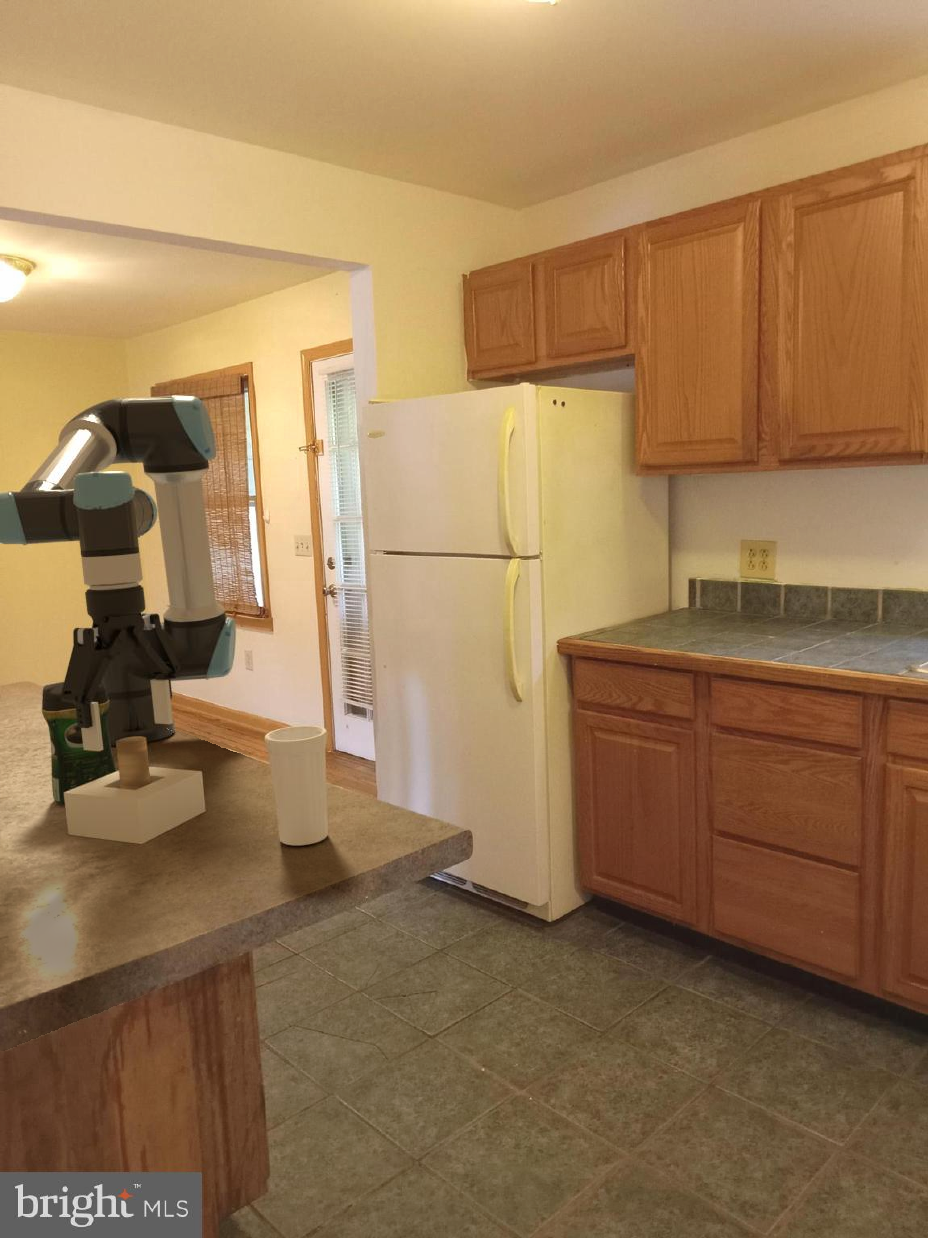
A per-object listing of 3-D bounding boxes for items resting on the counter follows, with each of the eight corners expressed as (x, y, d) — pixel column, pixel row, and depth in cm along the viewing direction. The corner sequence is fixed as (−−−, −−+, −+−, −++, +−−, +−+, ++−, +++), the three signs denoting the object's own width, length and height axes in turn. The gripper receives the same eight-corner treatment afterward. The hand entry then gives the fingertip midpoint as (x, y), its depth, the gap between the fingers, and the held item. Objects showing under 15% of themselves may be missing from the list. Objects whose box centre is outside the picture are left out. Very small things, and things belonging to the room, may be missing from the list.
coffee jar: (114, 784, 147) (102, 672, 145) (123, 797, 140) (111, 679, 138) (49, 797, 142) (36, 681, 140) (56, 810, 136) (41, 689, 133)
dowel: (138, 816, 131) (130, 735, 130) (160, 818, 129) (152, 737, 128) (118, 826, 127) (109, 743, 126) (140, 828, 126) (131, 744, 124)
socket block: (136, 803, 137) (132, 765, 136) (205, 811, 132) (201, 771, 131) (68, 834, 125) (63, 792, 124) (141, 844, 120) (137, 800, 119)
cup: (267, 835, 121) (258, 731, 119) (326, 824, 124) (318, 722, 122) (279, 856, 113) (270, 745, 111) (342, 843, 116) (334, 735, 115)
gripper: (156, 575, 137) (170, 712, 140) (17, 598, 114) (38, 760, 117) (196, 575, 134) (209, 714, 137) (62, 598, 111) (81, 764, 114)
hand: (130, 736), depth 127 cm, fingers open, 13 cm apart
